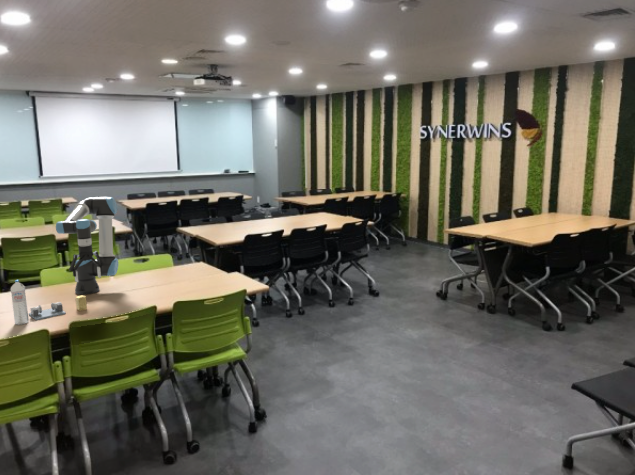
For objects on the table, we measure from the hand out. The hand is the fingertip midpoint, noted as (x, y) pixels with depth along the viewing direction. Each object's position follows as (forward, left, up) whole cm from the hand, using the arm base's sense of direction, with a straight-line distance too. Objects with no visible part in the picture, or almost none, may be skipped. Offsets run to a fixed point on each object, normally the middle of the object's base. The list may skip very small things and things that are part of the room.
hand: (88, 279), depth 306 cm
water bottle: (-1, -38, -18) cm, 42 cm away
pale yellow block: (-2, -5, -18) cm, 19 cm away
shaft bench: (-7, -23, -18) cm, 30 cm away
